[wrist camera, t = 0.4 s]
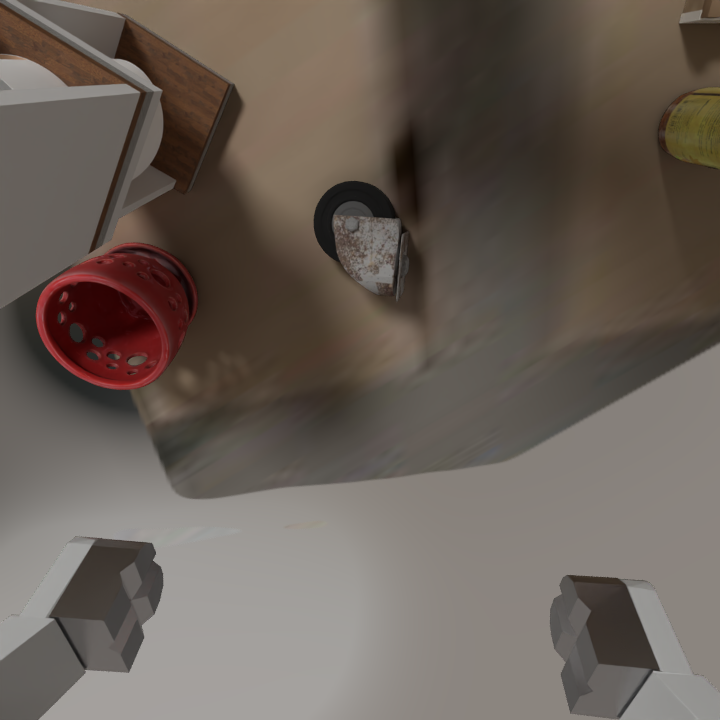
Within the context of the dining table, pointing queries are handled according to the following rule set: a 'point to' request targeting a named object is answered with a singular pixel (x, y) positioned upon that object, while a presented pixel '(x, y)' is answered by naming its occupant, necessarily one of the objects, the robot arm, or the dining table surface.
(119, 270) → the plant pot
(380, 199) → the caster wheel
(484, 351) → the dining table surface
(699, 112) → the sauce bottle
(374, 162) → the dining table surface
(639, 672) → the robot arm
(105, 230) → the tiered shelf stand
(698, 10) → the dock
